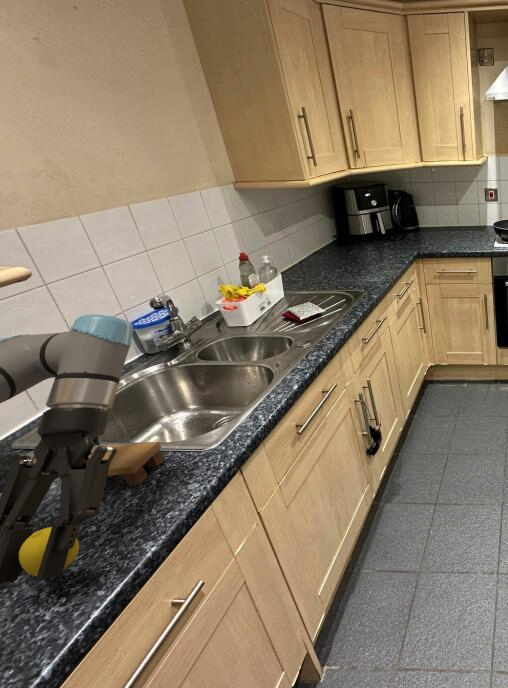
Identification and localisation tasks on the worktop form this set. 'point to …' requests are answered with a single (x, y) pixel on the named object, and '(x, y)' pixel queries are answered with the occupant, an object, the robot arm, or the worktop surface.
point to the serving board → (135, 461)
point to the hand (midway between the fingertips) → (26, 579)
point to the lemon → (40, 551)
